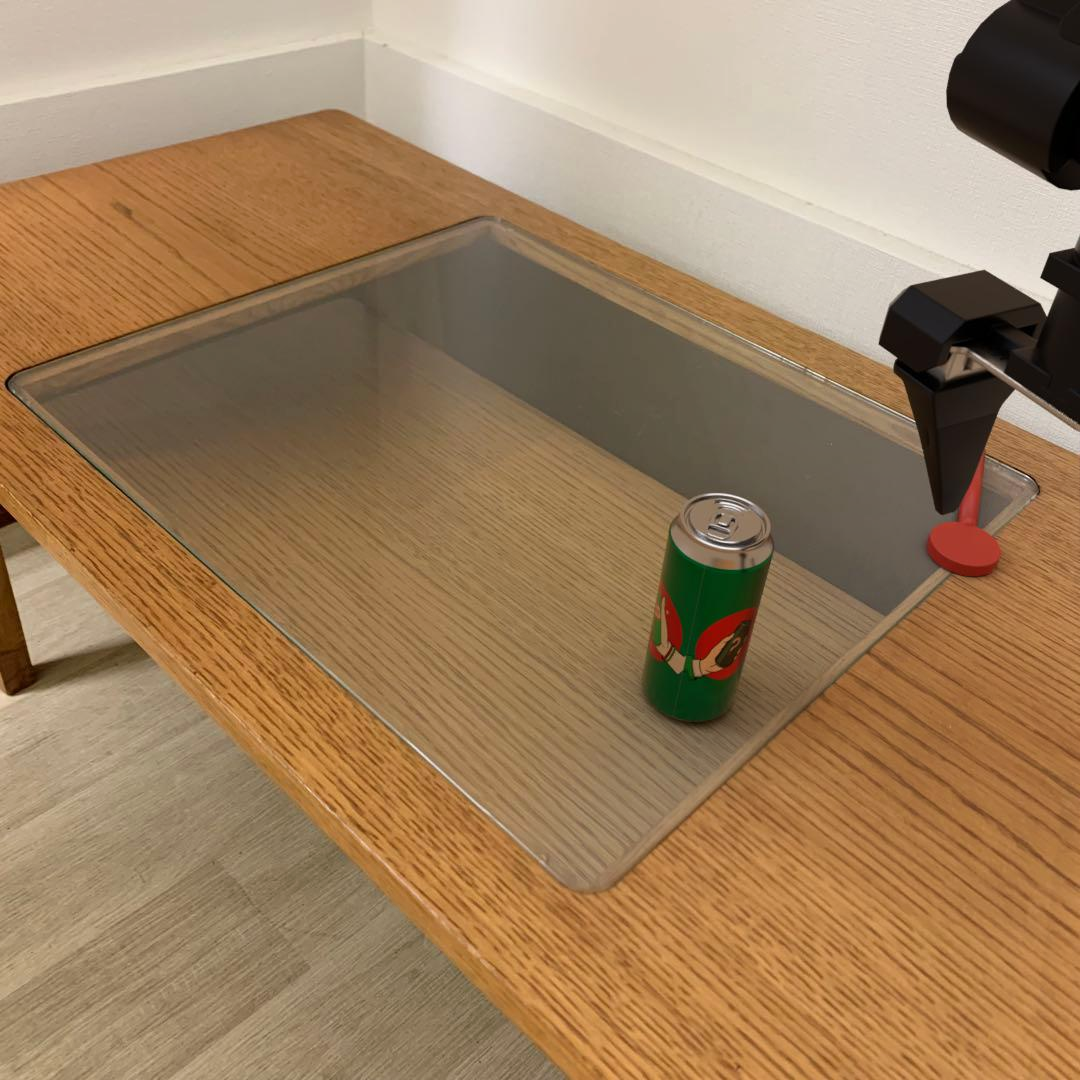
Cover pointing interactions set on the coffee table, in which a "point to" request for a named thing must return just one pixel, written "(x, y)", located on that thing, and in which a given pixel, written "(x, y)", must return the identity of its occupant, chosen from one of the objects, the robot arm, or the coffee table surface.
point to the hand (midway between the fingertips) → (1018, 571)
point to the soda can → (706, 605)
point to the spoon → (965, 537)
